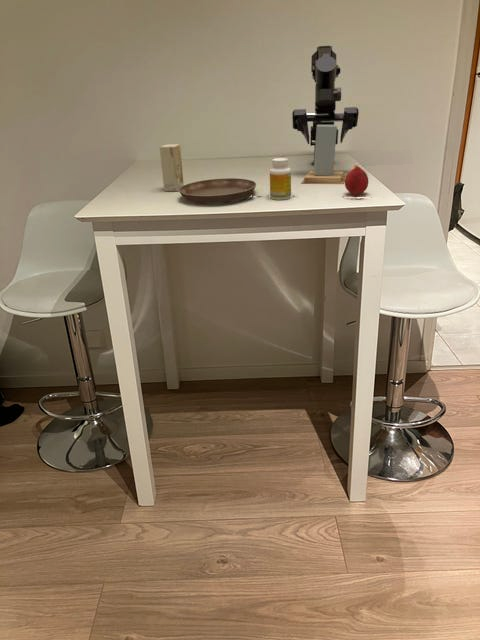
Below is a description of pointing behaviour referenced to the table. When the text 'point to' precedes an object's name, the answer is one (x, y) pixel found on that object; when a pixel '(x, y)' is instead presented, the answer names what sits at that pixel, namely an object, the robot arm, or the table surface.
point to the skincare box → (171, 167)
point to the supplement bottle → (280, 179)
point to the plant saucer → (217, 191)
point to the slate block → (325, 149)
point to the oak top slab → (324, 177)
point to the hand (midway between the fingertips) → (324, 142)
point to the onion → (356, 181)
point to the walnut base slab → (328, 183)
